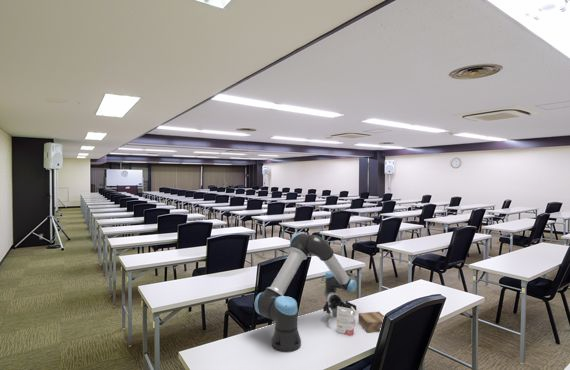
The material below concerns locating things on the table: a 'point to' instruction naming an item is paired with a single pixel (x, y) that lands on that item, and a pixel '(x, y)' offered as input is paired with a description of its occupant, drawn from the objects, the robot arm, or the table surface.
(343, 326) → the ink cartridge box
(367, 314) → the walnut block
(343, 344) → the table surface
